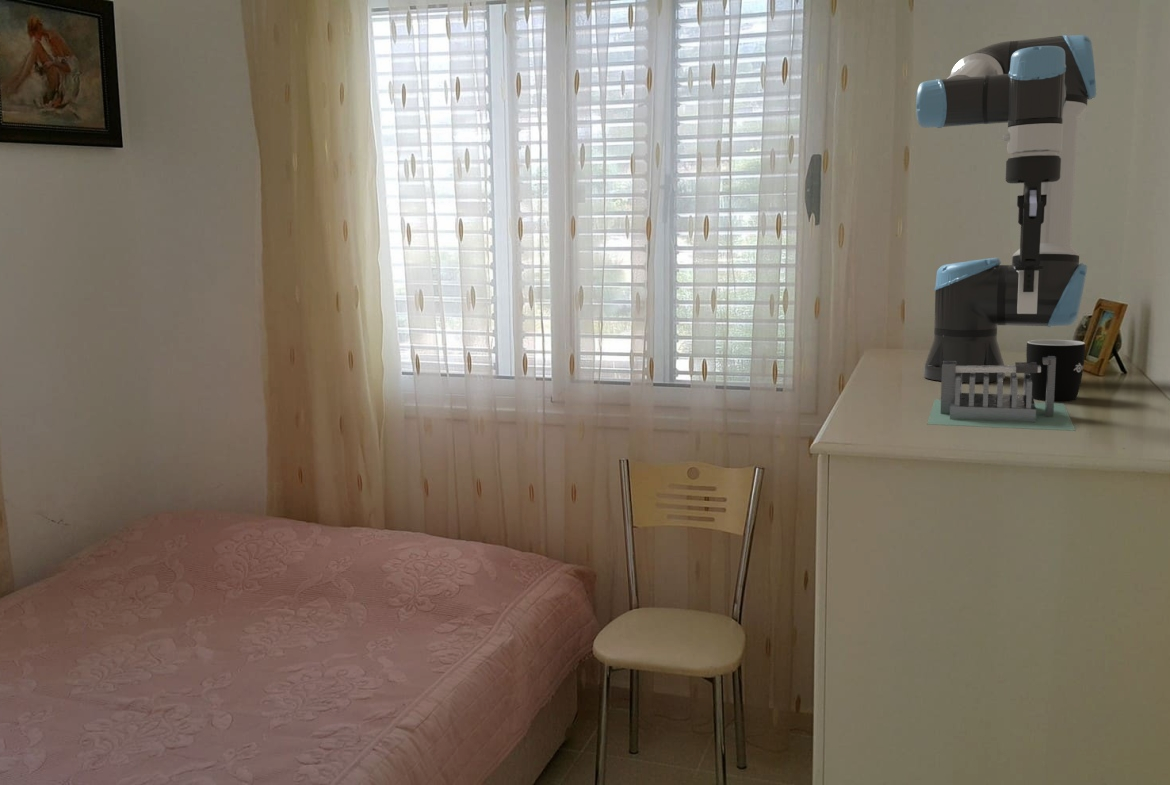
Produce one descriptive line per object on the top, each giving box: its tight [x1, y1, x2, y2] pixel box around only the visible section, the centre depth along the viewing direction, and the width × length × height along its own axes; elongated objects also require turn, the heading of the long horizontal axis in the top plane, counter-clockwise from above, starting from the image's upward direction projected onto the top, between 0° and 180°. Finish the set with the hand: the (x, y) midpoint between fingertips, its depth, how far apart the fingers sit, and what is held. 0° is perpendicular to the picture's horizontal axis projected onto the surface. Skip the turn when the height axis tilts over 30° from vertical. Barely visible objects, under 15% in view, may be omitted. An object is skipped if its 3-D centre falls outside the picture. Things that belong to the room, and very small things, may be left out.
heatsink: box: [940, 356, 1056, 423], centre depth 158 cm, size 14×16×9 cm
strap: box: [956, 361, 1041, 374], centre depth 158 cm, size 5×14×1 cm, turn 69°
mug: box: [1025, 339, 1086, 403], centre depth 172 cm, size 12×9×10 cm
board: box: [927, 398, 1076, 432], centre depth 159 cm, size 24×20×1 cm
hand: (1026, 313), depth 155 cm, fingers closed
